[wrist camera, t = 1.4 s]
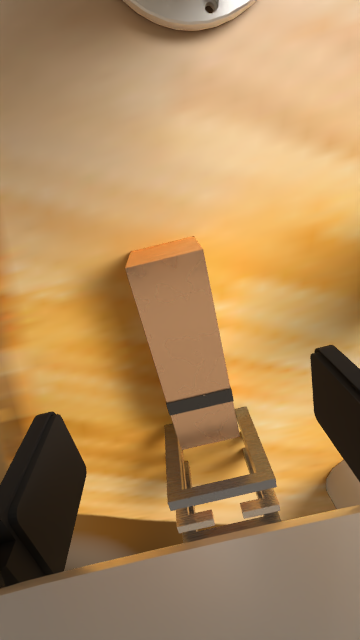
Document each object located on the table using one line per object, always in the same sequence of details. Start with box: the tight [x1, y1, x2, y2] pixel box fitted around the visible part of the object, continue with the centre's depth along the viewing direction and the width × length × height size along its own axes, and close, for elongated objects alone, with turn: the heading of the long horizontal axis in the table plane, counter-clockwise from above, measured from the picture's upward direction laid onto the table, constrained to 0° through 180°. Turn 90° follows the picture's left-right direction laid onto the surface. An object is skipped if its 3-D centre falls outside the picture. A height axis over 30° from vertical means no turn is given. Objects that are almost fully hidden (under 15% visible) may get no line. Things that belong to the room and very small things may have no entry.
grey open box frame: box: [164, 407, 281, 543], centre depth 29 cm, size 6×8×8 cm
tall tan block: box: [125, 236, 240, 450], centre depth 25 cm, size 16×5×5 cm, turn 13°
